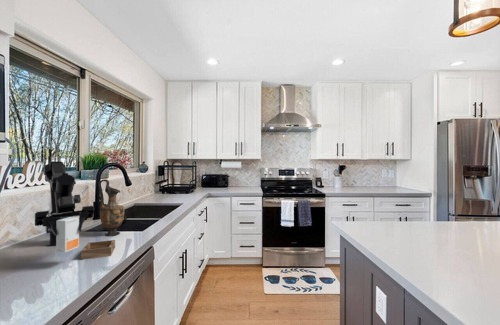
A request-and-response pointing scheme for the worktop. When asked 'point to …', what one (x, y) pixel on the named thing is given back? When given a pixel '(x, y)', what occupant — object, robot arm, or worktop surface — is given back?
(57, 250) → the skincare box
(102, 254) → the walnut holder
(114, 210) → the vase
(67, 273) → the worktop surface
